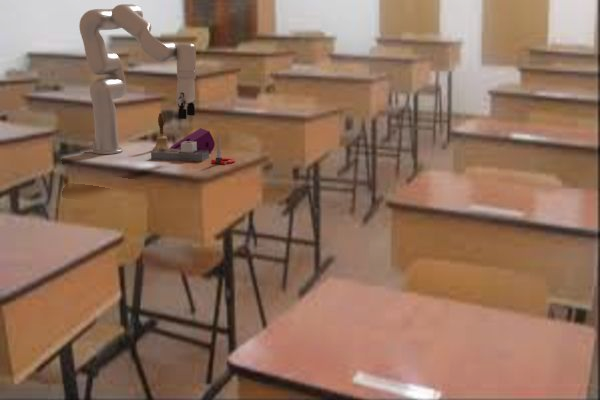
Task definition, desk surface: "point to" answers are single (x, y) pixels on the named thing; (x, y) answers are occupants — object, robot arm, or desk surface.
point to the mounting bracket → (198, 140)
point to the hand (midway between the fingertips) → (186, 116)
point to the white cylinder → (189, 147)
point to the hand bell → (161, 135)
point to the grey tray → (179, 155)
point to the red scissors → (218, 158)
